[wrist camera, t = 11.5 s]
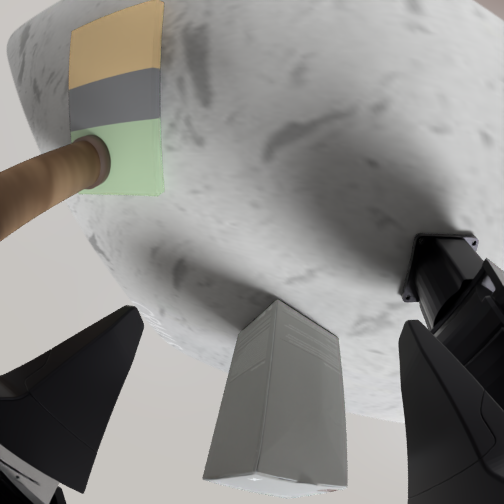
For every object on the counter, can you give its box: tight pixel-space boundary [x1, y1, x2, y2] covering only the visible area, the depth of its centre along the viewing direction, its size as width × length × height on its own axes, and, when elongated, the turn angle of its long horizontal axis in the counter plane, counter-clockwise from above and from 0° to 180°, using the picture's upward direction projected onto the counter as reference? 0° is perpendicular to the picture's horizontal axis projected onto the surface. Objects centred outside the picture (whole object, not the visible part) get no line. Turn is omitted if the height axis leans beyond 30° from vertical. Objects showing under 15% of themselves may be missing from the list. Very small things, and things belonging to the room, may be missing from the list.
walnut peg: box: [0, 135, 111, 241], centre depth 14 cm, size 5×5×13 cm
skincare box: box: [203, 300, 347, 498], centre depth 19 cm, size 8×7×16 cm
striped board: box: [69, 0, 164, 196], centre depth 17 cm, size 16×9×1 cm, turn 178°
